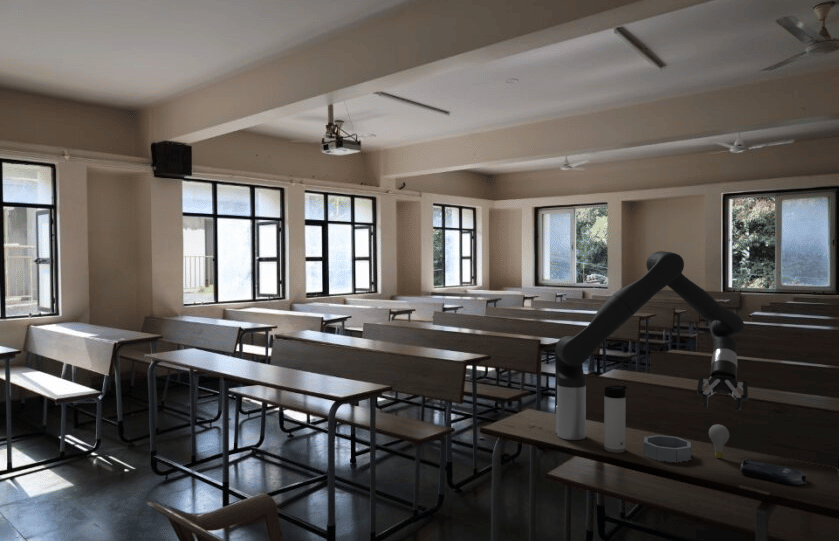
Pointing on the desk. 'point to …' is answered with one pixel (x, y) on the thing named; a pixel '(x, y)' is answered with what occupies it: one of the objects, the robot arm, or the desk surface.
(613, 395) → the travel mug
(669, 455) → the bowl
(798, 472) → the electronic device
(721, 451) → the light bulb
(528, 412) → the desk surface
